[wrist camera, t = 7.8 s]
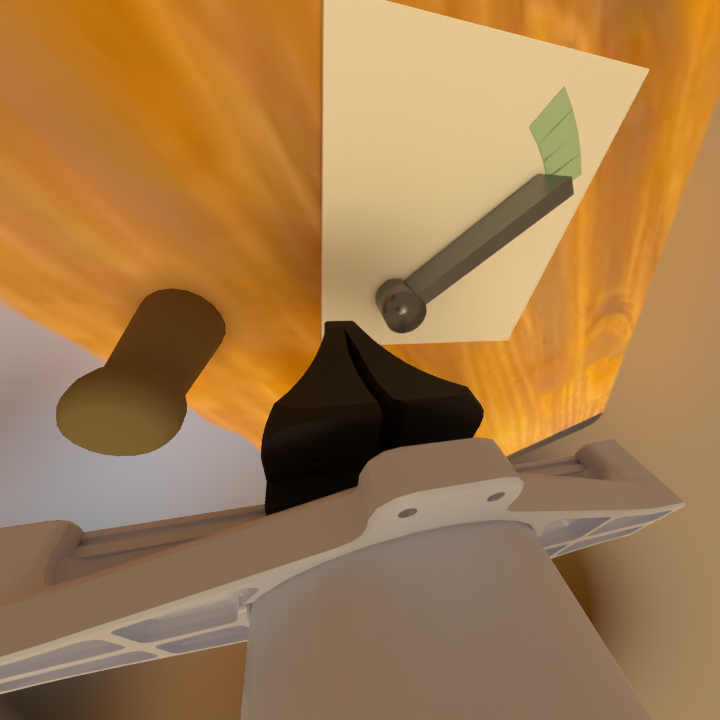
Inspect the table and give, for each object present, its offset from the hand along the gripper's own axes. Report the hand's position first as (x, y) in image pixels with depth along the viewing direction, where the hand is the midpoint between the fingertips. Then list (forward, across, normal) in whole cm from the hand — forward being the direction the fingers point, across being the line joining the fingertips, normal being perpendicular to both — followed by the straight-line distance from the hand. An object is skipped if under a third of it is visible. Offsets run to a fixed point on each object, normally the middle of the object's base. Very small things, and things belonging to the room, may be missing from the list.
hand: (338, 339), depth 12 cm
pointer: (+9, -10, -2) cm, 14 cm away
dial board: (+10, -10, -3) cm, 15 cm away
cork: (+11, +11, +5) cm, 16 cm away
